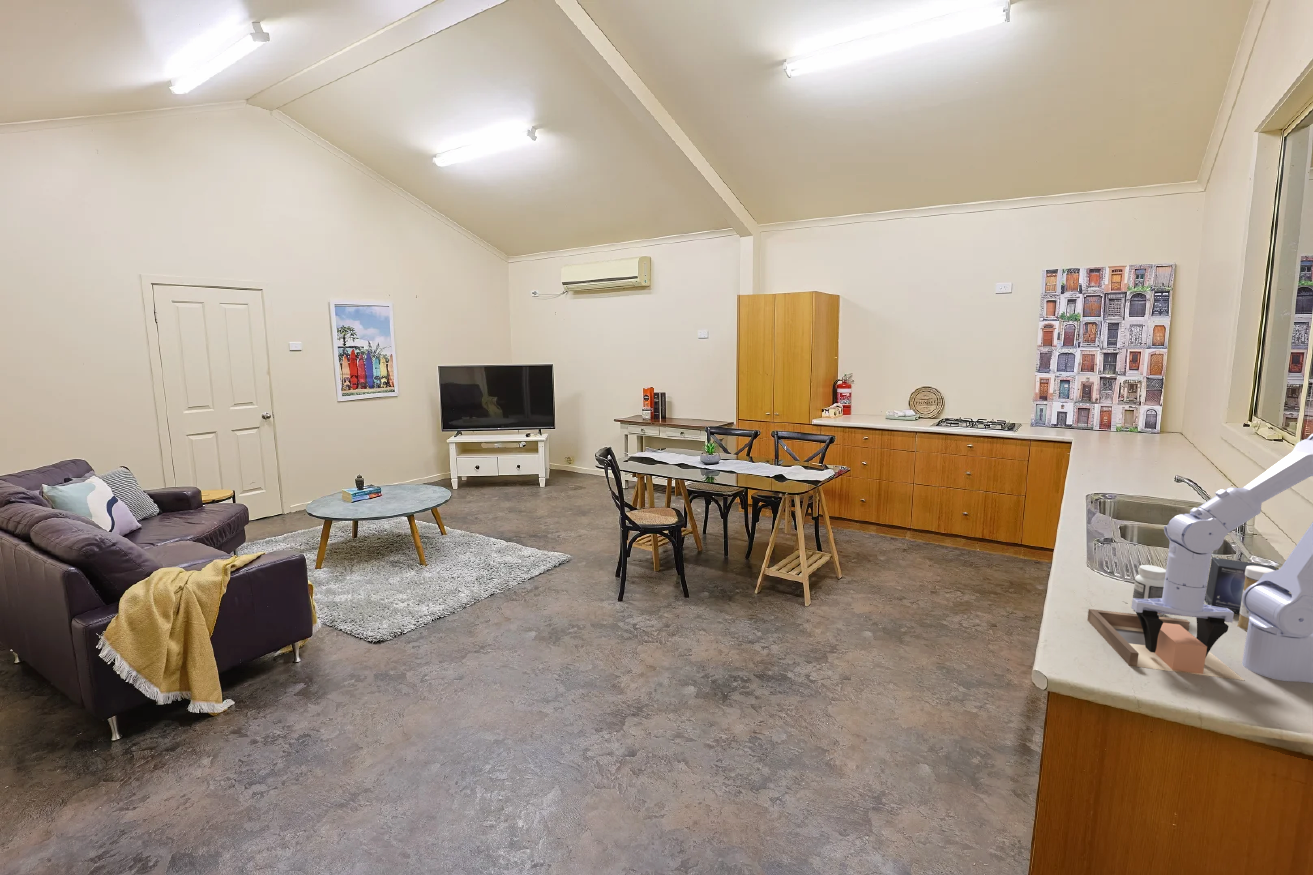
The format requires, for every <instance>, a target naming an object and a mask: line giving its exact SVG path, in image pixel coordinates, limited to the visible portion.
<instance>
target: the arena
mask: <svg viewBox="0 0 1313 875" xmlns="http://www.w3.org/2000/svg"><path fill="white" fill-rule="evenodd" d="M1159 619H1160V620H1162V621H1163V622H1164V623H1170V624H1179V625H1181V626H1182V627H1183V628H1184V629H1186V630H1187V631H1188V632H1189V630H1190V623H1191V622H1190V620H1188V619H1183V618H1177V617H1176V618H1175V617H1168V616H1167V617H1166V616H1159ZM1087 622H1088V623H1089V624H1090V625H1091V626H1092V627H1093V629H1094V630H1095V631H1096V632H1097V633H1098V634H1099V635H1100V636H1101V637H1102V638H1103V639H1104V640H1105V642H1107V644H1108V645H1109V646H1110V647H1111V649H1113V650H1114V651H1115V653H1116V654H1118V656H1119V657H1120V658H1121V659H1122V660H1123V661H1124V662H1125V663H1126V664H1127V665H1128V666H1129V667H1136V668H1143V669H1152V670H1158V671H1159V670H1160V671H1166V672H1167V671H1168V672H1173V673H1174V672H1177V673H1183V674H1191V675H1197V676H1205V677H1215V678H1222V679H1229V680H1236V681H1245V679H1244V678H1243V677H1241V676H1240V675H1239V674H1238V673H1236V671H1234V670H1233V669H1231V668H1230V667H1229V666H1228V665H1227V664H1225V663H1224V662H1223V661H1222V660H1220V658H1219V657H1217V656H1216V655H1214V654H1213V653H1212V652H1211V651H1209V653H1208V654H1207V656H1206V658H1205V664H1204V670H1203V674H1201V673H1193V672H1186V671H1178V670H1172V669H1171V668H1170V667H1169V666H1168V665H1167V664H1166V663H1165V662H1164V661H1163V660H1162V659H1161V658H1160V657H1158V656H1157V655H1156V654H1155V653H1154V652H1150V651H1149V650H1148V649H1147V648H1146V647H1145V638H1144V633H1143V629H1142V626H1141V623H1140V620H1139V618H1138V616H1137V614H1136V613H1129V612H1121V611H1119V612H1118V611H1112V610H1111V611H1110V610H1102V609H1093V608H1089V609H1088V612H1087Z"/></svg>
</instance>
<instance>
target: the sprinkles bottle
mask: <svg viewBox="0 0 1313 875" xmlns="http://www.w3.org/2000/svg"><path fill="white" fill-rule="evenodd" d="M1272 571H1274V570H1272V569H1269V568H1265V567H1260V566H1247V567H1246V570H1245V575H1246V576H1245V584H1244V589H1243V593H1244V591H1245V590H1246V589H1247V588H1248V587H1249V586H1251V585H1252V584H1254V583H1256V582H1257V581H1259V580H1260V578H1261V577H1262V576H1263V574H1265V573H1268V572H1272ZM1242 596H1243V594H1242ZM1248 615H1249V611H1248V610H1247V609H1246V608H1245V606H1244V605H1243V602H1242V601H1241V607H1240V614H1239V616H1238V622H1237V623H1238V624H1237V625H1236V627H1239V628H1240V629H1241V630H1243V631H1245V632H1246V633H1247V630H1248V624H1249V617H1248Z"/></svg>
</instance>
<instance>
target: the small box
mask: <svg viewBox="0 0 1313 875" xmlns="http://www.w3.org/2000/svg"><path fill="white" fill-rule="evenodd" d="M1247 566H1260V567H1265V568H1269V569H1272V570H1274V571H1275V570H1278V569H1277V568H1275V567H1274V566H1273V565H1268V564H1262V563H1256V562H1247V561H1241V560H1232V559H1227V558H1220V557H1212V556H1211V562H1210V568H1209V574H1208V581H1207V588H1206V594H1205V601H1204V602H1206V603H1207V604H1206V605H1211V606H1216V607H1222V608H1228V609H1229V610H1231V611H1232V612H1234V614H1237V615H1240V607H1241V601H1242V594H1243V589H1244V584H1245V576H1246V575H1245V570H1246V567H1247Z"/></svg>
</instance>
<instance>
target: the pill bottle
mask: <svg viewBox="0 0 1313 875" xmlns="http://www.w3.org/2000/svg"><path fill="white" fill-rule="evenodd" d="M1138 572H1139V574H1138V575H1136V576H1135V579H1134V586H1133V595H1132V599H1133V598H1136V599H1158V598H1162V595H1163V588H1164V581H1165V574H1166V568H1163V567H1160V566H1156V565H1151V564H1141V565H1139V567H1138ZM1157 615H1159V617H1163V616H1164V615H1165V614H1161V613H1158V614H1157Z"/></svg>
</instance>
